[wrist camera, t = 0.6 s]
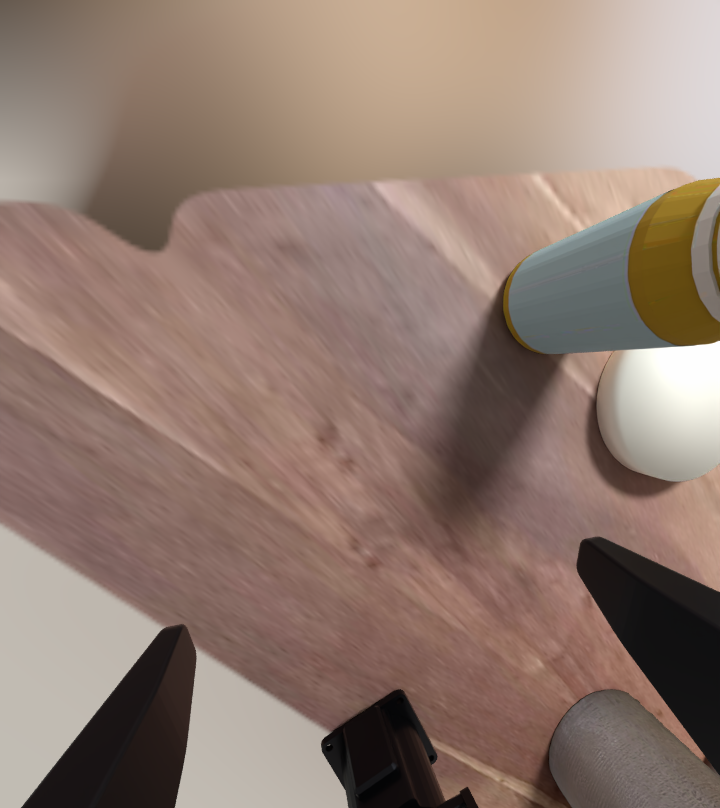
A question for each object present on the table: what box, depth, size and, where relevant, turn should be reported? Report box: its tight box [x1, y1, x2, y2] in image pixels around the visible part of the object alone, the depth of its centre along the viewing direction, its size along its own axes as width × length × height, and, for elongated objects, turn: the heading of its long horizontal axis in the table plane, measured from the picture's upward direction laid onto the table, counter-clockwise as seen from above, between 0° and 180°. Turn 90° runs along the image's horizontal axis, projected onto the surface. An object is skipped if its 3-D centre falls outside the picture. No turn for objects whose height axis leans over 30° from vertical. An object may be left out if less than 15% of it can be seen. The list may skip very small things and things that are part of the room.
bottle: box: [503, 178, 720, 354], centre depth 19 cm, size 7×7×15 cm
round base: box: [596, 341, 720, 482], centre depth 28 cm, size 12×12×2 cm
